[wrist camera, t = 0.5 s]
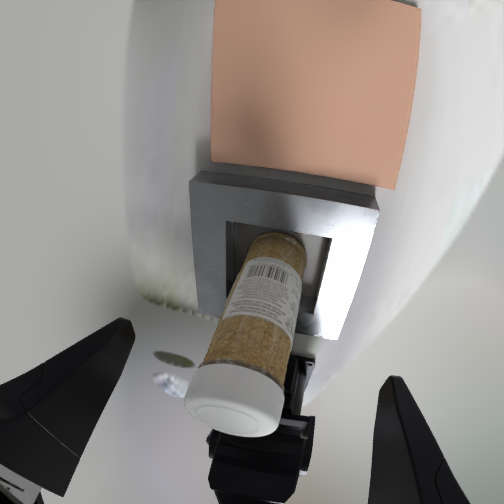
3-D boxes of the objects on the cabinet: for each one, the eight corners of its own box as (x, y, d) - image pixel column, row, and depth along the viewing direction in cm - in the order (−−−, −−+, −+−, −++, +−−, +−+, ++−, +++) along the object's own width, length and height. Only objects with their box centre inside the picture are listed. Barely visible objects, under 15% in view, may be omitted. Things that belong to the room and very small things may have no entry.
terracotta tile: (392, 186, 18) (394, 190, 17) (214, 158, 20) (211, 161, 19) (418, 10, 11) (421, 8, 10) (219, -12, 13) (216, -15, 12)
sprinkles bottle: (241, 264, 24) (175, 417, 13) (261, 219, 21) (188, 385, 11) (293, 287, 24) (256, 446, 13) (318, 245, 21) (295, 423, 11)
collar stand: (337, 322, 25) (336, 339, 24) (206, 297, 27) (199, 312, 26) (375, 197, 18) (379, 210, 17) (200, 171, 20) (189, 181, 19)
